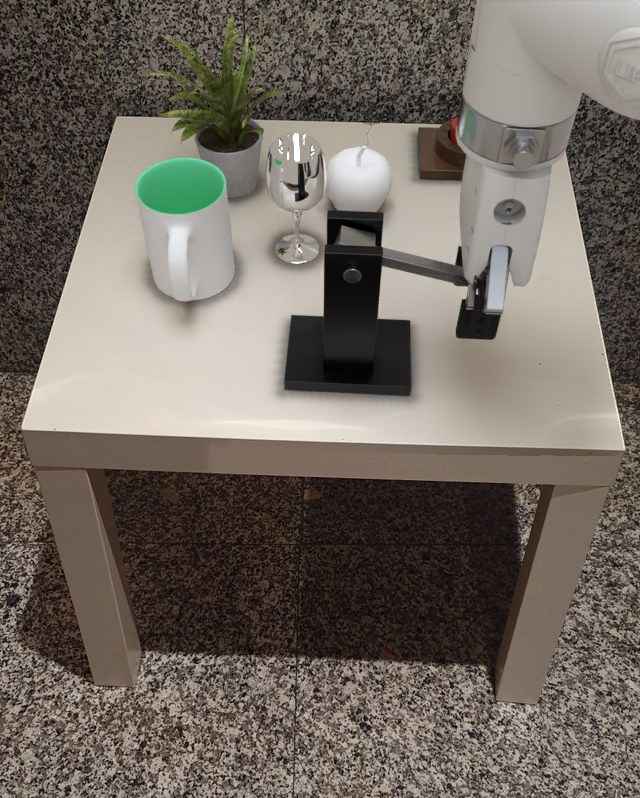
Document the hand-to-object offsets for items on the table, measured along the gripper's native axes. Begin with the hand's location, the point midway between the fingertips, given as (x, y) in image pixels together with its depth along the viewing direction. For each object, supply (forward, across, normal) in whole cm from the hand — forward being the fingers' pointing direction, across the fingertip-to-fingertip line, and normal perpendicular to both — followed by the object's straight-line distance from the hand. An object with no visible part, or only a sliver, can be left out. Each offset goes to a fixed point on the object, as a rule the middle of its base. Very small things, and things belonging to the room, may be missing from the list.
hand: (473, 308), depth 70 cm
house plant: (+8, +26, +24) cm, 36 cm away
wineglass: (+7, +14, +16) cm, 23 cm away
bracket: (+7, 0, +10) cm, 12 cm away
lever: (-3, 0, +6) cm, 7 cm away
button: (+5, +31, -2) cm, 31 cm away
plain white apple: (+7, +21, +10) cm, 25 cm away
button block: (+7, +30, -2) cm, 31 cm away
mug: (+8, +8, +26) cm, 28 cm away
